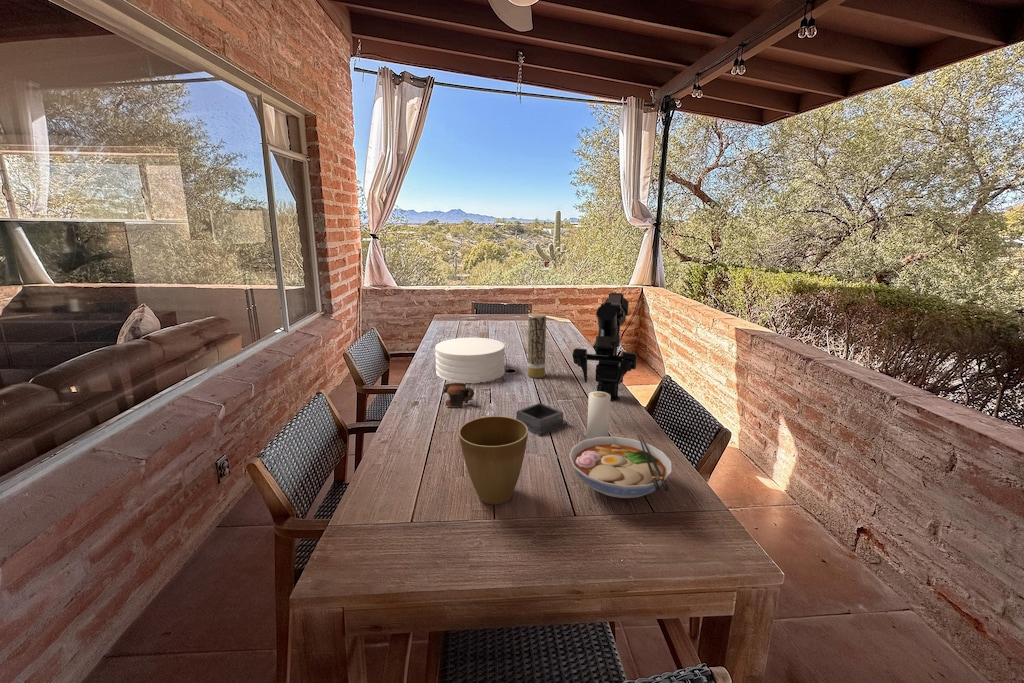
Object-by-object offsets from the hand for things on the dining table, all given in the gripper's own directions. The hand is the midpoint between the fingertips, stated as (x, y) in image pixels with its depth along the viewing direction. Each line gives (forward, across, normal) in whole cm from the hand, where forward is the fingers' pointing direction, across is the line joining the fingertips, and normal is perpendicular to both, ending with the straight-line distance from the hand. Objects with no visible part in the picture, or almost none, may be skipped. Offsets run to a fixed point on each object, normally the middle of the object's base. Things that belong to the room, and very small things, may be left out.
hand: (601, 383), depth 134 cm
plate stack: (-16, -57, +36) cm, 69 cm away
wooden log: (-19, -30, +38) cm, 52 cm away
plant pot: (+40, -18, -21) cm, 49 cm away
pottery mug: (+6, -48, +13) cm, 50 cm away
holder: (+12, -17, +7) cm, 22 cm away
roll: (+15, 0, +4) cm, 16 cm away
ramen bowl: (+32, +8, -13) cm, 36 cm away
